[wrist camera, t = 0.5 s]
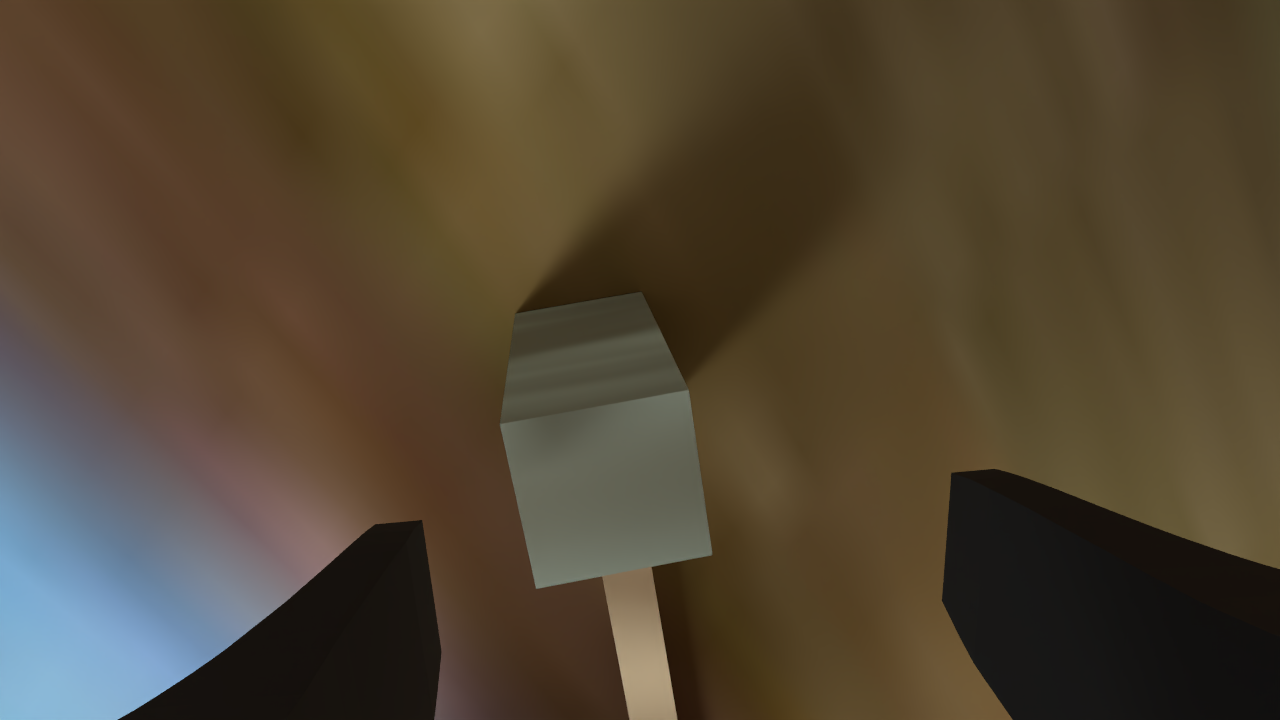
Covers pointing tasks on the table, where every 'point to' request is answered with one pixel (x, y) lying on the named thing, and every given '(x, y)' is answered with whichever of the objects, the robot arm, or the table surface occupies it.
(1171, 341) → the table surface
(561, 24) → the table surface
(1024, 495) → the robot arm
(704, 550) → the gray rectangular block
